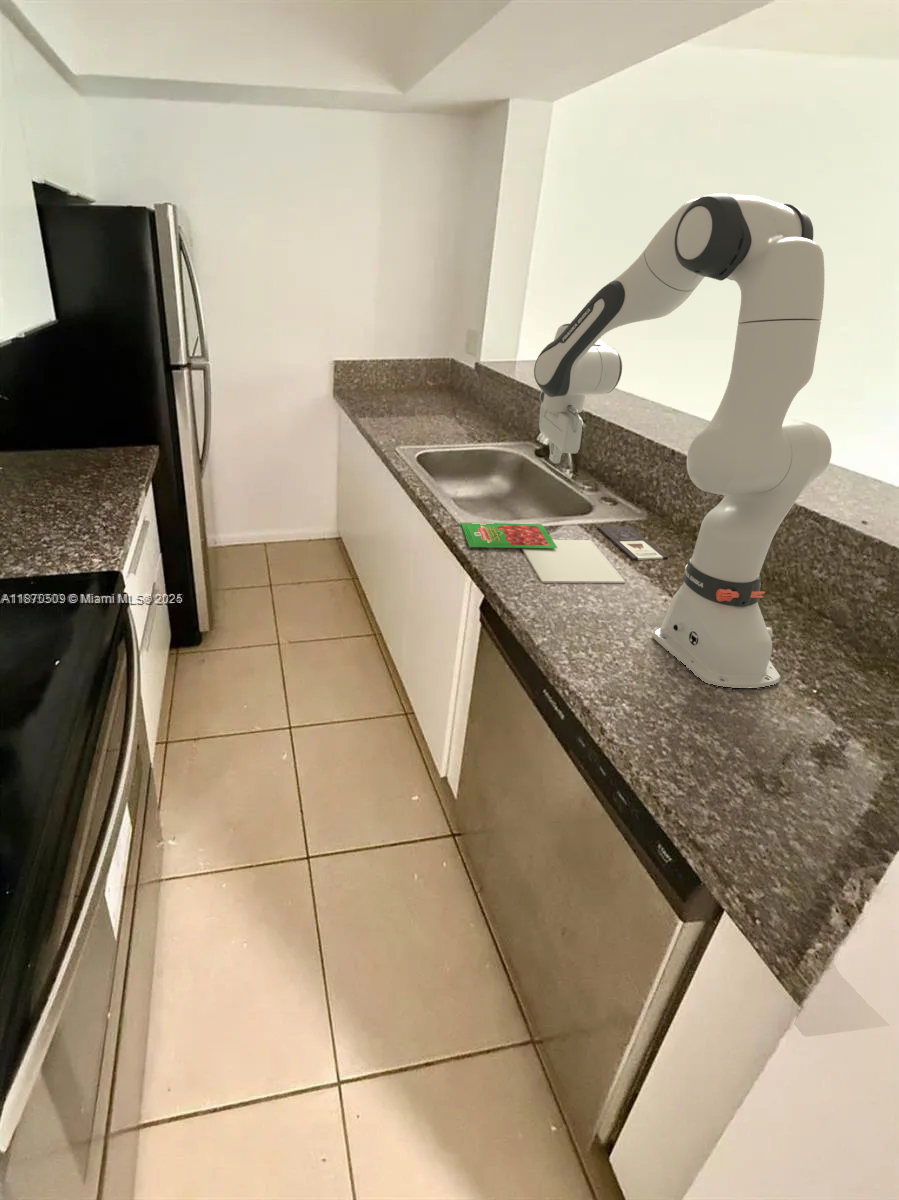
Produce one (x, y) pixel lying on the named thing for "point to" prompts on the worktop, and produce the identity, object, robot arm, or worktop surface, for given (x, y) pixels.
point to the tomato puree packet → (507, 535)
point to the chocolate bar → (632, 543)
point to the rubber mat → (572, 563)
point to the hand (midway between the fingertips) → (554, 461)
